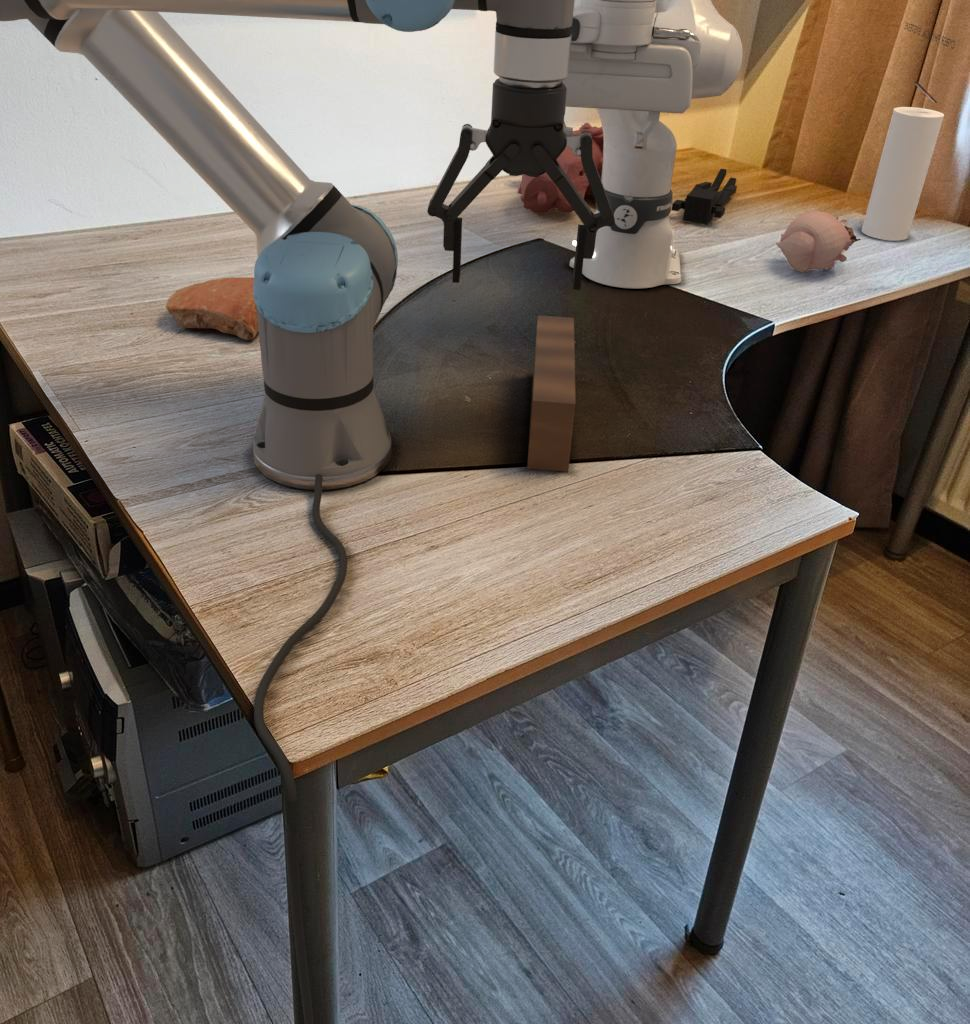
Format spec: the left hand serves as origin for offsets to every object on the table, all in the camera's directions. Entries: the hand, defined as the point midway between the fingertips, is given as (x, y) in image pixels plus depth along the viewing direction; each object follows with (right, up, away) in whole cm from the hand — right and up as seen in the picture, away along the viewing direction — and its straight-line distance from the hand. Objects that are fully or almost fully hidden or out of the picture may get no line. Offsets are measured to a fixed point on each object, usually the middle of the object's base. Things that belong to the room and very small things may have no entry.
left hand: (516, 282), depth 109 cm
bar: (+4, -15, +8) cm, 18 cm away
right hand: (+11, +21, +13) cm, 27 cm away
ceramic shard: (-41, +2, +29) cm, 50 cm away
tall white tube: (+73, +28, +76) cm, 109 cm away
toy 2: (+52, +16, +58) cm, 80 cm away
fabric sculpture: (+14, +35, +83) cm, 91 cm away
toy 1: (+42, +36, +87) cm, 103 cm away
